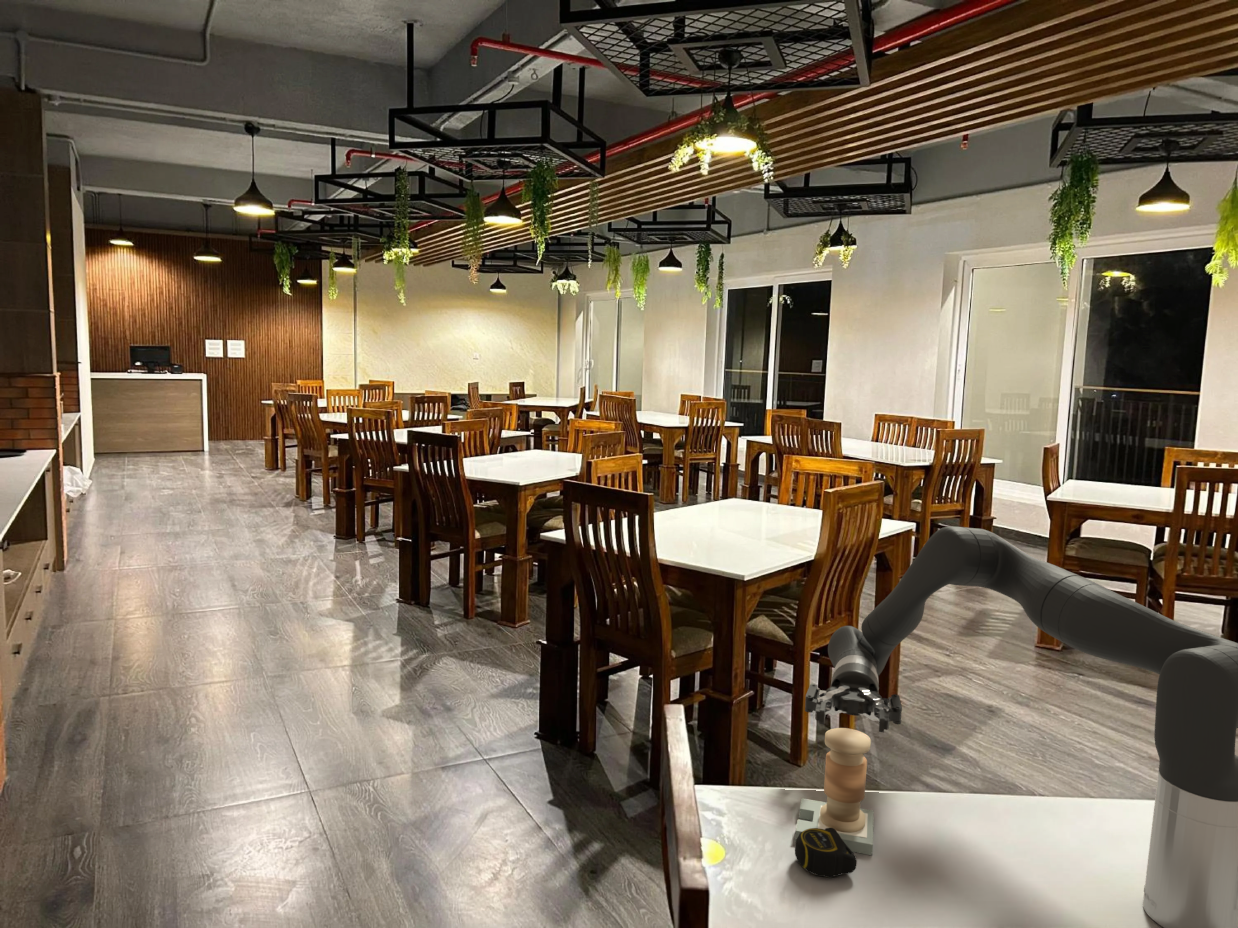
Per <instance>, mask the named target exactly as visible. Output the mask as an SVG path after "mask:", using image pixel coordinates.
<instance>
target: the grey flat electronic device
mask: <svg viewBox="0 0 1238 928" xmlns="http://www.w3.org/2000/svg"><path fill="white" fill-rule="evenodd" d="M825 804H827V801H826V802H825V801H820V800H814V799H808V798H803V797H801V799H800V804H799V812H798V813H799V815H798V819H797V821H796V827H795V834H794V835H795V838H794V842H796V839H797V838H798V836H799V834H800V833H801V832H803V831H804V830H806V829H810V828H818V829H824V830H825V829H826V828H829V827H827V826H825V825H824V824H823V823H822V822H821V820H820V810H821V807H822V806H823V805H825ZM860 810H861V811H863V813H864V814H865V826H864V828H863V829H862V830H860V831H857V832H851V833H848V832H840V831H837V833H838V834H839V835H840V837H841V839H842V840H843V841H844V843H845V844H846V845H847V846H848V847H849V848H850V850H851V851H852V852H853V853H856V854H857V853H858V854H862V855H863V854H864V855H868V856H869V855H870V856H873V848H874V816H875V813H874V812H875V811H874V810H873V809H866V808H861V807H860Z"/></svg>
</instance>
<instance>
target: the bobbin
mask: <svg viewBox="0 0 1238 928" xmlns="http://www.w3.org/2000/svg"><path fill="white" fill-rule="evenodd" d="M871 743H872V739H871V738H870V736H869V735H867V734H866V733H865V732H863V731H860V730H857V729H854V728H853V729H852V728H848V727H835V728H831V729H829V730H827V731H826V732H825V733H824V744H825V746H826V747H827V748H828V749H830V750H829V751H828V752H827V753H826V755H825V767H824V768H825V770H824V783H823V785H824V786H823V792H824V794H825V796H827V797H826V802H827V804H825V805H823V806H822V807H821V810H820V820H821V822H822V823H823V824H824V825H825V826H827V827H829V828H834V829H835V830H836V831H840V832H848V833H851V832H857V831H860V830H862V829H863V828H864V826H865V814H864V813H863V811H861V810H860V808H861V802H862V801H863V800H864V799H865V797H866V796H865V795H866V784H867V783H866V782H867V781H866V779H867V767H868V760H867V758H866V757H865V755H864V754H866V753H868V752H870V750H871Z"/></svg>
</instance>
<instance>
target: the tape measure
mask: <svg viewBox="0 0 1238 928" xmlns="http://www.w3.org/2000/svg"><path fill="white" fill-rule="evenodd" d="M794 855H795V858H796V860H797V863H798V864H799V865H800V866H801V867H802V868H803V869H804V870H805V871H807V872H808V873H811V874H813V875H815V876H820V877H824V878H833V877H837V876H839V875H846V874H850V873H853V872H854V871H856V869H857V861H858V860H857V856H856V855H855V852H852V851H851V850H850V848H849V847H848V846H847V845H846V844H845V843H844V841H843V840H842V839H841V837H840V835H839V834H838V833H837V831H836V830H835V829H834V828H826V829H825V830H824V829H818V828H810V829H806V830H804V831H803V832H801V833H800V834H799V836H798V838H797V839H796V841H795V844H794Z"/></svg>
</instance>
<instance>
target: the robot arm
mask: <svg viewBox="0 0 1238 928" xmlns="http://www.w3.org/2000/svg"><path fill="white" fill-rule="evenodd" d="M948 585H951V586H962V587H978V588H985V589H988V590H991V591H993V592H997V593H1000V594H1001V595H1004V596H1006V597H1008V598H1010V599H1012V600H1014V601H1015V602H1017V603H1018V604H1019V605H1020V606H1021V608H1022V609H1023V611H1024V612H1025V615H1026V616H1027V617H1028V619H1029V620H1030V621H1031V623H1033V624H1034V625H1035V626H1036V627H1037V628H1039V629H1040V630H1041V631H1042V632H1044V633H1046V634H1047V635H1048V636H1051V637H1052V638H1054V639H1056V640H1058V641H1059V642H1061V643H1063V644H1065V645H1067V646H1069V647H1070V648H1072V649H1075V650H1077V651H1079V652H1081V653H1084V654H1087V655H1090V656H1094V657H1097V658H1101V659H1105V660H1106V661H1112V662H1115V663H1118V664H1119V663H1120V664H1124V665H1127V666H1132V667H1135V668H1139V669H1143V670H1147V671H1150V672H1153V673H1155V674H1158V675H1159V676H1158V680H1157V686H1156V688H1157V689H1156V697H1155V698H1156V700H1155V720H1154V736H1153V737H1154V745H1155V750H1156V752H1157V755H1158V758H1159V765H1158V772H1157V779H1156V780H1157V781H1156V789H1155V796H1154V806H1153V812H1152V813H1153V815H1152V823H1151V832H1150V838H1149V839H1150V840H1149V849H1148V857H1147V865H1146V872H1145V873H1146V874H1145V882H1144V886H1143V900H1142V907H1143V910H1144V912H1145V913H1146V914H1147V915H1148V916H1149V917H1150V919H1151V920H1152V921H1154V922H1155V923H1157V924H1158V925H1159V926H1161V927H1163V928H1238V755H1236V738H1237V737H1236V736H1237V729H1238V642H1235V641H1232V640H1229V639H1227V638H1223V637H1220V636H1218V635H1215V634H1212V633H1209V632H1206V631H1203V630H1200V629H1198V628H1197V629H1196V628H1194V627H1191V626H1188V625H1186V624H1183V623H1181V622H1178V621H1176V620H1174V619H1171V618H1169V617H1168V616H1165V615H1163V614H1161V613H1159V612H1157V611H1155V610H1153V609H1151V608H1149V607H1146V606H1144V605H1143V604H1140V603H1138V602H1137V601H1134V600H1132V599H1130V598H1128V597H1125V596H1123V595H1121V594H1119V593H1117V592H1115V591H1113V590H1111V589H1109V588H1107V587H1105V586H1103V585H1101V584H1099V583H1097V582H1095V581H1092V580H1091V579H1088V578H1086V577H1084V576H1081V575H1079V574H1077V573H1074V572H1071V571H1069V570H1067V569H1064V568H1063V567H1061V566H1060V567H1059V566H1058V565H1055V564H1052V563H1050V562H1047V561H1044V560H1041V559H1039V558H1036V557H1034V556H1032V555H1030V554H1028V553H1027V552H1025V551H1024V550H1022V549H1020V548H1018V547H1017V546H1015V545H1014V544H1013V543H1010V542H1009V541H1007V540H1006V539H1005V538H1003V537H1001V536H999V535H997V534H996V533H994V532H991V531H989V530H988V529H987V530H986V529H984V528H974V527H967V526H966V527H965V526H945V527H942V528H940V529H937V530H936V531H935V532H934V533H933V534H932V535H931V536H930V537H929V538H928V540H927V541H925V544H924V545H923V546H922V547H921V549H920V551H919V552H918V554H917V556H916V557H915V558H914V560H913V561H912V563H911V564H910V565H909V567H908V568H907V569H906V571H905V572H904V574H903V576H902V577H901V578H900V580H899V582H898V583H897V585H895V587H894V588H893V589H892V591H891V592H890V593H889V594H888V595H887V596H886V597H885V599H883V600H882V601H881V602H880V603H879V604H878V605H877V606H876V607H875V608H874V609H873V610H872V611H871V612H869V614H868V615H866V616H865V618H864V619H863V621H862V622H861V625H860V626H861V628H860V629H861V630H860V629H858V628H856V627H855V626H852V625H843V626H841V627H839V628H837V629H836V630H835V631H834V632H833V634H832V635H831V636H830V638H829V642H828V644H827V645H828V646H827V655H828V658H829V661H830V662H831V664H832V666H833V671H832V674H831V675H832V676H831V682H830V687H828V688H827V689H826V690H823V689H822V690H821V689H820V688H819V687H818V684H815V683H811V684H809V687H808V689H807V692H806V694H805V702H804V711H805V712H806V713H814V712H815V713H814V714H815V716H814V718H815V720H816V721H818V723H819V725H825V720H826V715H830V716H835V715H839V714H841V713H843V714H846V715H849V716H853V717H855V716H864V717H865V718H867V719H869V720H871V721H873V722H874V721H876V722H877V721H878V733H885V730H886V731H887V730H889V728H890V722H892V723H893V724H895V725H901V724H902V711H903V706H902V701H901V698H900V695H898V694H891V696H889V697H888V698H885V697H882V696H881V695H880V693H879V689H880V687H879V685H880V684H879V676H880V675H881V674H882V672H883V670H884V669H885V666H886V664H887V662H888V660H889V657H890V656H891V654H892V652H893V651H894V650H895V648H896V647H897V646H899V644H900V643H901V642H903V641H904V640H905V639H906V638H908V636H910V635H911V634H912V633H913V632H914V631H915V630H916V628H917V627H918V626H919V625H920V624H921V621H922V619H923V616H924V614H925V613H924V611H925V606H926V601H927V600H928V599H929V598H930V597H931V596H933V594H934V593H936V592H937V591H939V590H940V589H942V588H944V587H945V586H946V587H947V586H948Z"/></svg>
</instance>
